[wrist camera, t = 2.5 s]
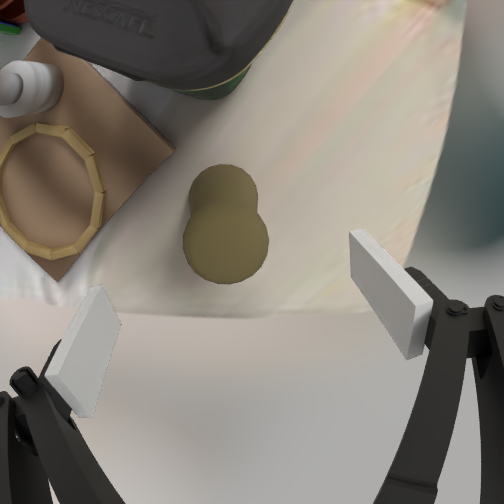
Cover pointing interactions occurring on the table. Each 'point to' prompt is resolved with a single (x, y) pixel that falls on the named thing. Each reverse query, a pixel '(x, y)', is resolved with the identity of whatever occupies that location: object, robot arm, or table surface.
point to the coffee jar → (164, 38)
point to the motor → (12, 16)
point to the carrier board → (67, 154)
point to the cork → (225, 226)
